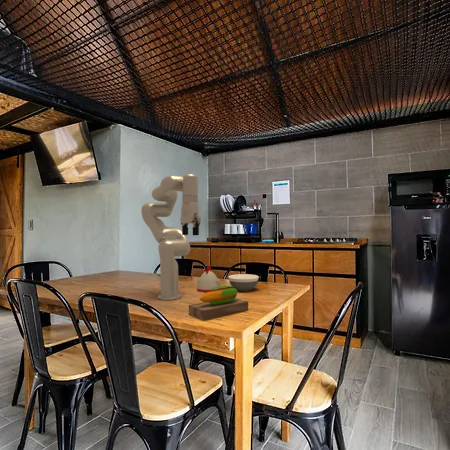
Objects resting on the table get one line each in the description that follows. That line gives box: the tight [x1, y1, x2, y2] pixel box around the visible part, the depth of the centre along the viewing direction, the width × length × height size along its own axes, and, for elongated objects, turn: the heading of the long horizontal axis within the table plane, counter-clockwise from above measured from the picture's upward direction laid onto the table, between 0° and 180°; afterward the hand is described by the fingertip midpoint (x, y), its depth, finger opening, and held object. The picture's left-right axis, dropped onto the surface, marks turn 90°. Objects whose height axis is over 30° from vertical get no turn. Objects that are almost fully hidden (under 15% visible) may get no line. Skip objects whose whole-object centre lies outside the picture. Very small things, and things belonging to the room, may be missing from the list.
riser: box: [188, 297, 249, 322], centre depth 134 cm, size 12×24×4 cm, turn 128°
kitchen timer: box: [196, 265, 221, 294], centre depth 184 cm, size 14×14×15 cm
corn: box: [199, 284, 238, 305], centre depth 133 cm, size 7×8×20 cm
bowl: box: [228, 273, 260, 292], centre depth 184 cm, size 19×19×8 cm
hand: (190, 235), depth 147 cm, fingers open, 9 cm apart
